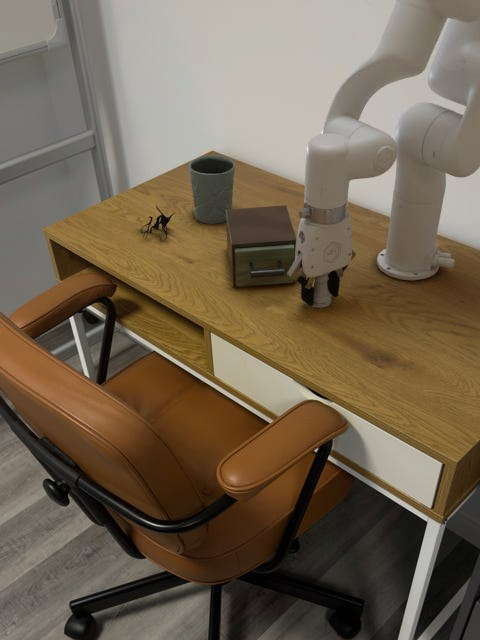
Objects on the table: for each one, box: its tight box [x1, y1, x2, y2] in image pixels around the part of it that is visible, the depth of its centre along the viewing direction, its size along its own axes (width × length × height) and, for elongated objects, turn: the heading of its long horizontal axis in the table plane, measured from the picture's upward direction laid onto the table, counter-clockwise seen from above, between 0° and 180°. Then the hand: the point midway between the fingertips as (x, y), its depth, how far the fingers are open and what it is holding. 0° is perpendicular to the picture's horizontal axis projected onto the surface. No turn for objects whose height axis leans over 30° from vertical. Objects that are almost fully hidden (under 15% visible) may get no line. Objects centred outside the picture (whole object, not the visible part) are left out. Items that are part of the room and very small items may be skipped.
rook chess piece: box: [312, 272, 332, 309], centre depth 133 cm, size 4×4×8 cm
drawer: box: [235, 244, 295, 288], centre depth 140 cm, size 18×11×8 cm, turn 5°
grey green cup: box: [188, 155, 236, 225], centre depth 160 cm, size 10×10×12 cm
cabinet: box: [225, 204, 297, 288], centre depth 143 cm, size 15×13×10 cm
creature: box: [140, 204, 176, 242], centre depth 156 cm, size 8×5×8 cm
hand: (319, 297), depth 135 cm, fingers open, 5 cm apart
